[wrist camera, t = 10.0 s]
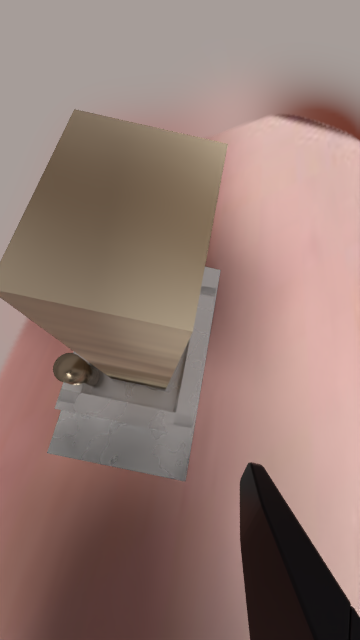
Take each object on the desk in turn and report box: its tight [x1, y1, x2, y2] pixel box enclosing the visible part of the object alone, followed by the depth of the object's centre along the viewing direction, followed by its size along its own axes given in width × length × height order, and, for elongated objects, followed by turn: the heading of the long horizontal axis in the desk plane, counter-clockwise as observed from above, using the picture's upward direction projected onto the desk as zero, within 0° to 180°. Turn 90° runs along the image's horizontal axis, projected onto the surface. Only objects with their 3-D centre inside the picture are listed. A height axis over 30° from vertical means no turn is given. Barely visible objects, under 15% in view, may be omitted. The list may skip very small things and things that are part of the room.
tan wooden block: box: [0, 110, 228, 390], centre depth 11 cm, size 4×4×13 cm
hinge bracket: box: [47, 267, 221, 481], centre depth 16 cm, size 14×8×5 cm, turn 169°
